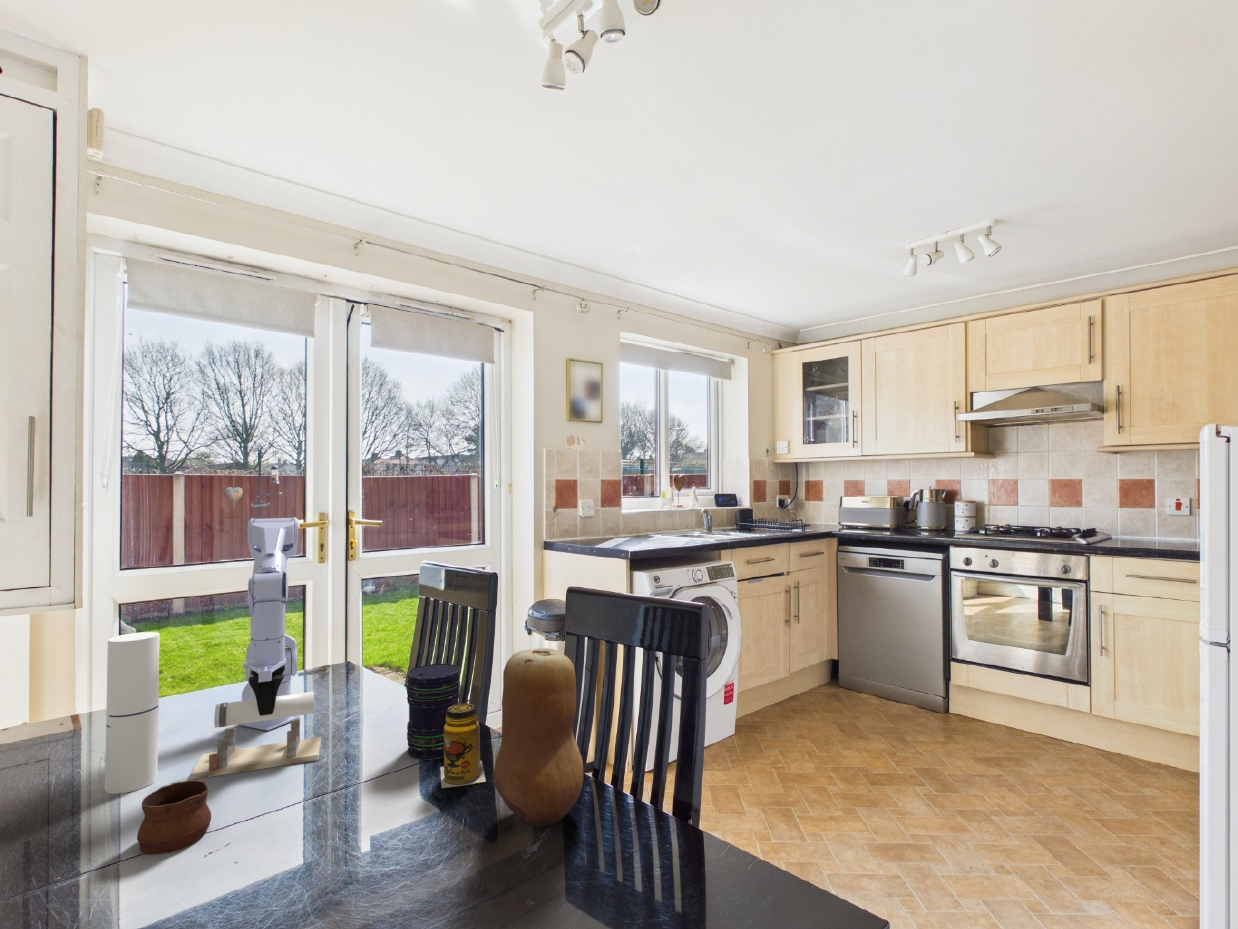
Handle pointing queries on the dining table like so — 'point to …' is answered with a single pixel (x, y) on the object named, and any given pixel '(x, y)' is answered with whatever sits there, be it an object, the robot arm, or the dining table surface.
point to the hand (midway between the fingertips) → (267, 710)
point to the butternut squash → (539, 737)
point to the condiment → (461, 747)
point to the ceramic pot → (174, 817)
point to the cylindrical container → (132, 712)
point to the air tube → (249, 711)
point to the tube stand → (256, 754)
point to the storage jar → (430, 708)
